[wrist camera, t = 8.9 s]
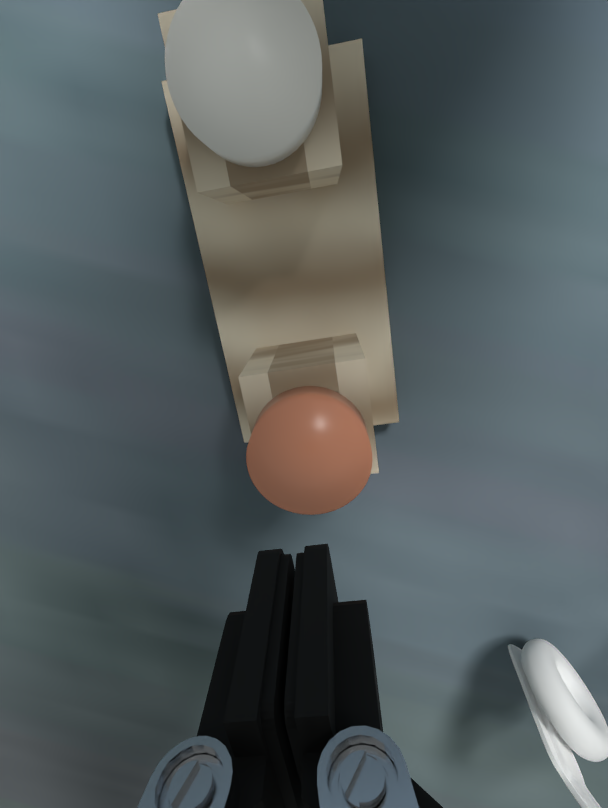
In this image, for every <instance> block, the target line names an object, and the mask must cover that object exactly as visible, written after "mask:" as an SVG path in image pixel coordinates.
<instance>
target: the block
mask: <svg viewBox="0 0 608 808" xmlns="http://www.w3.org/2000/svg"><path fill="white" fill-rule="evenodd" d="M301 1H302V3H303V4H304V6H305V7H306V9H307V11H308V12H309V14H310V16H311V18H312V21H313V23H314V25H315V28H316V31H317V34H318V38H319V42H320V48H321V55H322V97H321V104H320V109H319V112H318V116H317V119H316V121H315V124H314V126H313V128H312V130H311V132H310V134H309V135H308V137H307V138H306V140H305V141H304V142H303V144H302V145H301V146H300V147H299V148H298V149H297V150H296V151H295V152H293V153H292V154H291V155H290V156H288V157H287V158H285V159H283V160H282V161H279V162H277V163H275V164H272V165H268V166H263V167H246V166H241V165H237V164H234V163H231V162H229V161H227V160H225V159H223V158H222V157H220V156H219V155H217V154H216V153H215V152H213V151H212V150H211V149H210V148H209V147H207V146H206V145H205V144H204V143H203V142H202V141H200V140H199V139H198V138H197V137H196V136H195V135H194V134H193V133H192V132H191V131H190V130H189V128H188V127H187V126H186V124H185V123H184V122H183V120H182V119H181V117H180V115H179V113H178V112H177V110H176V108H175V106H174V103H173V101H172V98H171V95H170V92H169V88H168V84H167V80H165V81H161V82H162V86H163V91H164V95H165V99H166V104H167V108H168V112H169V117H170V121H171V125H172V130H173V134H174V139H175V143H176V147H177V152H178V156H179V160H180V165H181V169H182V173H183V178H184V182H185V186H186V191H187V195H188V200H189V204H190V208H191V213H192V217H193V221H194V226H195V230H196V234H197V239H198V243H199V247H200V252H201V256H202V260H203V265H204V269H205V274H206V278H207V282H208V287H209V291H210V295H211V300H212V304H213V308H214V313H215V317H216V321H217V326H218V330H219V335H220V339H221V343H222V348H223V352H224V356H225V361H226V365H227V369H228V374H229V378H230V382H231V387H232V391H233V395H234V400H235V404H236V409H237V413H238V417H239V422H240V426H241V430H242V435H243V439H244V443H246V442H249V439H250V437H251V434H252V431H253V428H254V426H255V423H256V420H257V418H258V416H259V414H260V412H261V411H262V409H263V408H264V407H265V406H266V404H267V403H268V402H269V401H270V400H272V399H273V398H274V397H276V396H277V395H279V394H280V393H282V392H284V391H286V390H289V389H292V388H296V387H301V386H318V387H324V388H327V389H331V390H333V391H335V392H338V393H340V394H341V395H343V396H345V397H346V398H347V399H348V400H350V401H351V402H352V403H353V404H354V405H355V406H356V408H357V409H358V410H359V412H360V413H361V415H362V417H363V419H364V422H365V424H366V428H367V432H368V436H369V440H370V444H371V449H372V459H373V461H372V469H371V473H370V474H374V473H379V469H378V460H377V452H376V443H375V435H374V427H373V425H381V424H388V423H396V422H399V415H398V404H397V394H396V384H395V374H394V363H393V353H392V343H391V332H390V322H389V312H388V301H387V291H386V281H385V270H384V260H383V250H382V240H381V229H380V219H379V209H378V198H377V188H376V178H375V167H374V157H373V147H372V137H371V126H370V116H369V106H368V95H367V85H366V75H365V64H364V54H363V44H362V38H361V39H357V40H352V41H347V42H343V43H338V44H333V45H329V46H328V40H327V31H326V23H325V14H324V6H323V0H301ZM176 10H177V9H176ZM176 10H171V11H167V12H162V13H158V18H159V23H160V27H161V32H162V36H163V41H164V45H165V47H166V40H167V35H168V31H169V28H170V24H171V21H172V19H173V17H174V14H175V12H176Z"/></svg>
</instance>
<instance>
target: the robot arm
mask: <svg viewBox="0 0 608 808" xmlns="http://www.w3.org/2000/svg"><path fill="white" fill-rule="evenodd" d="M137 808H443V807H442V806H441V805H440V804H439V803H437V802H436V801H435V800H434V799H433V798H432V797H431V796H430V795H429V794H428V793H427V792H426V791H424V790H423V789H422V788H421V787H420V786H419V785H418V784H417V783H416V782H415V781H414V780H413V779H411V778H410V775H409V772H408V768H407V765H406V762H405V760H404V757H403V755H402V753H401V751H400V748H399V747H398V746H397V745H396V744H395V742H394V741H393V740H392V739H391V738H390V737H389V736H388V735H386V734H385V733H383V727H382V718H381V710H380V702H379V693H378V685H377V676H376V668H375V659H374V651H373V644H372V636H371V629H370V622H369V615H368V608H367V602H366V600H359V601H348V602H338V597H337V592H336V586H335V580H334V575H333V569H332V563H331V558H330V552H329V547H328V544H321V545H312V546H305V550H304V553H297V556H296V567H295V569H294V564H293V560H292V556H291V554H286V555H284V553H283V550H282V549H274V550H265V551H259V552H258V555H257V560H256V565H255V570H254V574H253V579H252V584H251V589H250V594H249V599H248V604H247V608H246V611H240V612H230V614H229V615H228V617H227V620H226V623H225V627H224V631H223V635H222V639H221V643H220V647H219V651H218V655H217V659H216V663H215V667H214V671H213V675H212V679H211V682H210V686H209V690H208V694H207V698H206V702H205V706H204V710H203V714H202V718H201V722H200V726H199V730H198V734H197V736H195V737H192V738H189V739H187V740H184V741H182V742H181V743H179V744H178V745H176V746H175V747H174V748H172V749H171V750H170V751H169V752H168V753H167V754H166V755H165V756H164V757H163V758H162V760H161V761H160V762H159V763H158V765H157V767H156V769H155V770H154V772H153V774H152V776H151V777H150V780H149V782H148V784H147V786H146V789H145V791H144V793H143V796H142V798H141V800H140V802H139V805H138V807H137Z"/></svg>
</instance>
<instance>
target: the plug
mask: <svg viewBox="0 0 608 808" xmlns="http://www.w3.org/2000/svg"><path fill="white" fill-rule="evenodd" d="M165 73H166V79H167V84H168V88H169V92H170V95H171V98H172V101H173V103H174V106H175V108H176V110H177V112H178V113H179V115H180V117H181V119H182V120H183V122H184V123H185V124H186V126H187V127H188V128H189V130H190V131H191V132H192V133H193V134H194V135H195V136H196V137H197V138H198V139H199V140H200V141H202V142H203V143H204V144H205V145H206V146H207V147H209V148H210V149H211V150H212V151H213V152H215V153H216V154H217V155H219V156H220V157H222V158H223V159H225V160H227V161H229V162H231V163H234V164H237V165H241V166H246V167H263V166H268V165H272V164H275V163H277V162H279V161H282V160H283V159H285V158H287V157H288V156H290V155H291V154H292V153H293V152H295V151H296V150H297V149H298V148H299V147H300V146H301V145H302V144H303V142H304V141H305V140H306V138H307V137H308V135H309V134H310V132H311V130H312V128H313V126H314V124H315V121H316V119H317V116H318V112H319V109H320V104H321V97H322V55H321V48H320V42H319V38H318V34H317V31H316V28H315V25H314V23H313V21H312V18H311V16H310V14H309V12H308V11H307V9H306V7H305V6H304V4H303V3H302V1H301V0H182V2H181V3H180V5H179V7H178V8H177V10H176V12H175V14H174V17H173V19H172V21H171V24H170V28H169V31H168V35H167V40H166V47H165Z"/></svg>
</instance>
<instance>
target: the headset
mask: <svg viewBox="0 0 608 808" xmlns="http://www.w3.org/2000/svg"><path fill="white" fill-rule="evenodd" d="M508 650H509V654H510V656H511V659H512V662H513V665H514V667H515V670H516V672H517V675H518V678H519V680H520V683H521V686H522V688H523V691H524V694H525V696H526V699H527V701H528V704H529V707H530V709H531V712H532V715H533V717H534V720H535V722H536V725H537V728H538V730H539V733H540V736H541V738H542V741H543V743H544V746H545V748H546V750H547V753H548V755H549V757H550V759H551V761H552V763H553V765H554V766H555V768H556V770H557V771H558V773H559V774H560V776H561V778H562V779H563V781H564V782H565V784H566V786H567V788H568V789H569V791H570V792H571V794H572V795H573V796H574V798H575V799H576V801H577V802H578V803H579V805H580V806H581V808H601V807H600V805H599V804H598V803H597V801H596V800H595V799H594V797H593V796H592V795H591V793H590V792H589V790H588V789H587V787H586V786H585V783H584V779H583V776H582V774H581V771H580V769H579V766H578V764H577V762H576V759H575V757H574V755H573V753H572V750H573V751H575V752H576V753H577V754H578V755H579V756H581V757H582V758H584V759H586V760H589V761H593V762H599V761H602V760H604V759H606V758H607V757H608V727H607V724H606V722H605V719H604V717H603V715H602V713H601V711H600V709H599V707H598V706H597V704H596V702H595V700H594V698H593V697H592V695H591V693H590V692H589V690H588V688H587V687H586V685H585V684H584V682H583V681H582V679H581V678H580V676H579V675H578V674H577V672H576V671H575V669H574V668H573V667H572V665H571V664H570V663H569V662H568V660H567V659H566V658H565V657H564V656H563V655H562V653H561V652H560V651H559V650H558V649H557V648H556V647H554V646H553V645H552V644H551V643H549V642H548V641H546V640H543V639H532V640H529V641H528V642H526V643H525V645H524V646H523V649H520V648H518V647H517V646H515V645H512V644H509V645H508ZM571 749H572V750H571Z"/></svg>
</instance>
